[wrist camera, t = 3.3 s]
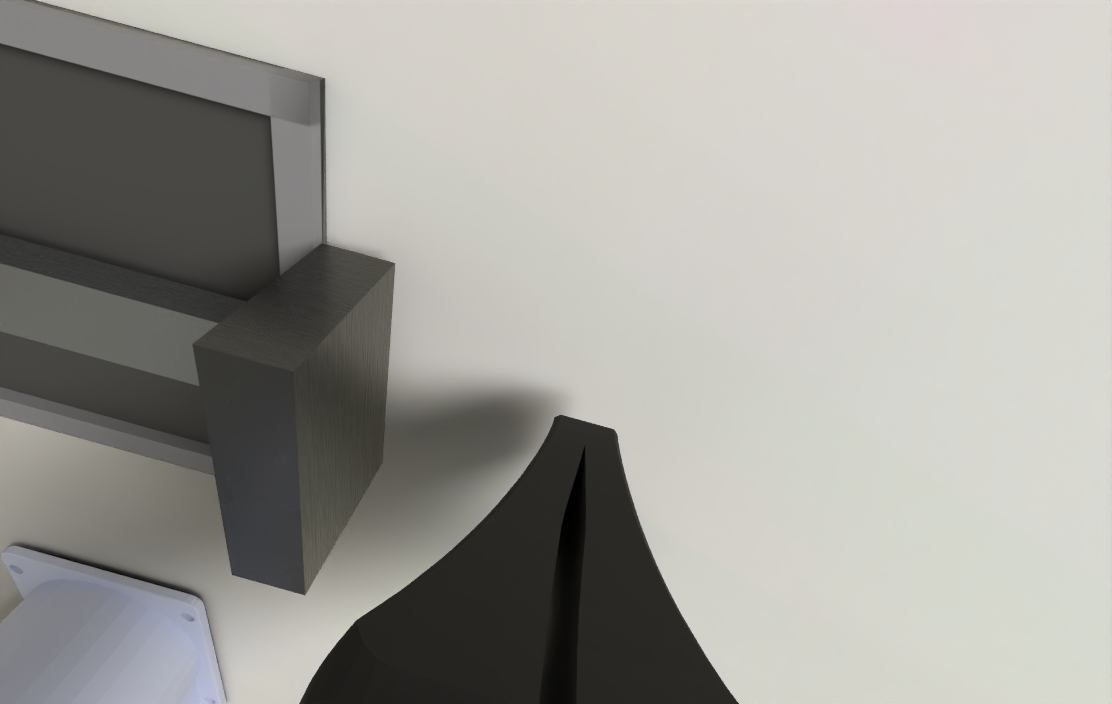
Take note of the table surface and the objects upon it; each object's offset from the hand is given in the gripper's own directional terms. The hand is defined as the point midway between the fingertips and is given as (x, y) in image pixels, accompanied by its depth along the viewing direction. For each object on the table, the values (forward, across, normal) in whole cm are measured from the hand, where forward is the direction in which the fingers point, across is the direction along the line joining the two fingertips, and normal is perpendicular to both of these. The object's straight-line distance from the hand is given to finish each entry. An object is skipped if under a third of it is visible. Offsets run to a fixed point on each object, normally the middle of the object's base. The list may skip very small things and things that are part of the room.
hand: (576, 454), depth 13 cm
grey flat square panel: (+2, +13, 0) cm, 13 cm away
